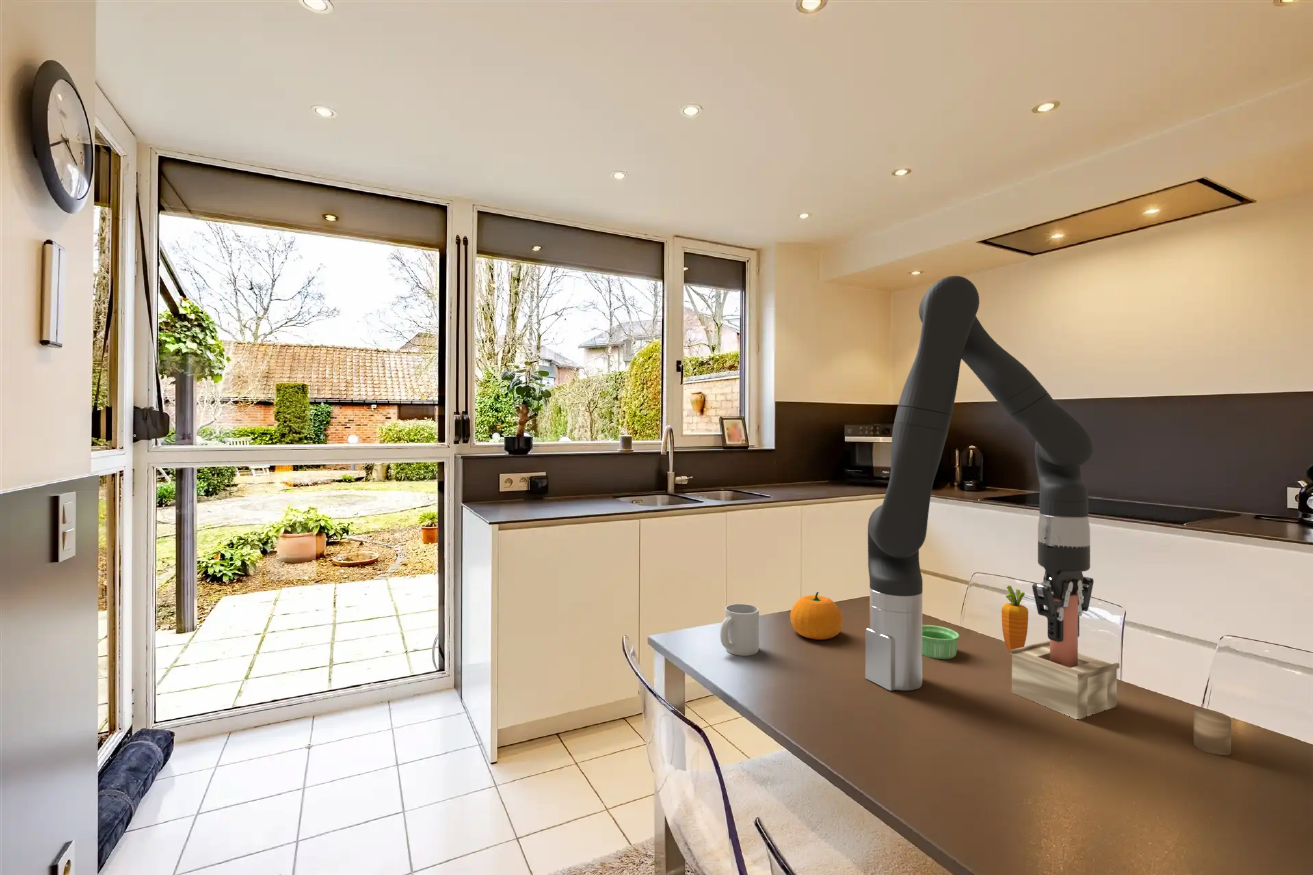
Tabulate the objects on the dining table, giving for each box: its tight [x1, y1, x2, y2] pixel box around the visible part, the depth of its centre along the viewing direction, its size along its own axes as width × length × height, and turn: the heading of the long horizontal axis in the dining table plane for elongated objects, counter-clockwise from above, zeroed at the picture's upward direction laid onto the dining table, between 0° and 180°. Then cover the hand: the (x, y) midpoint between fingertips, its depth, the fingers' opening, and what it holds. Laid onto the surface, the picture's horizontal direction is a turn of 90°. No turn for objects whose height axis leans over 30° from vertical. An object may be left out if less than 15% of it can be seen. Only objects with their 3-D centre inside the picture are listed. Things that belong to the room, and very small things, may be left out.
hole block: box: [1009, 640, 1120, 720], centre depth 102 cm, size 11×12×8 cm
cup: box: [719, 603, 760, 657], centre depth 125 cm, size 7×10×9 cm
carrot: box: [1001, 585, 1029, 658], centre depth 120 cm, size 5×5×15 cm
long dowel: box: [1049, 595, 1079, 667], centre depth 102 cm, size 4×4×12 cm
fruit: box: [789, 591, 844, 641], centre depth 135 cm, size 12×12×10 cm
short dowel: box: [1193, 708, 1232, 756], centre depth 87 cm, size 4×4×5 cm
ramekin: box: [922, 624, 960, 660], centre depth 124 cm, size 9×9×4 cm
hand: (1063, 637), depth 102 cm, fingers closed on long dowel, 4 cm apart
